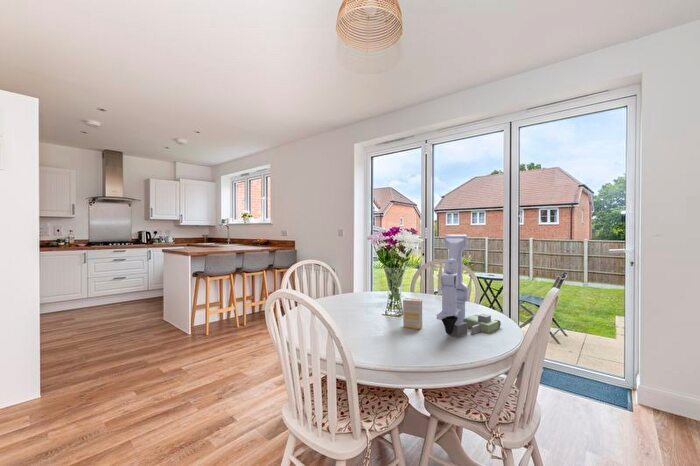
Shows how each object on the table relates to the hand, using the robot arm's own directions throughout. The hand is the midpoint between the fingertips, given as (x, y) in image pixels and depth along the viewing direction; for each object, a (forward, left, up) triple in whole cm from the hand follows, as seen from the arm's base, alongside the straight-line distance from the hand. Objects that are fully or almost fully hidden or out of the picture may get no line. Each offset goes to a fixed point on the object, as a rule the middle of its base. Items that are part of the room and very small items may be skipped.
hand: (449, 333), depth 131 cm
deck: (+2, +20, -2) cm, 20 cm away
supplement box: (-18, -2, -2) cm, 18 cm away
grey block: (0, +6, -2) cm, 6 cm away
